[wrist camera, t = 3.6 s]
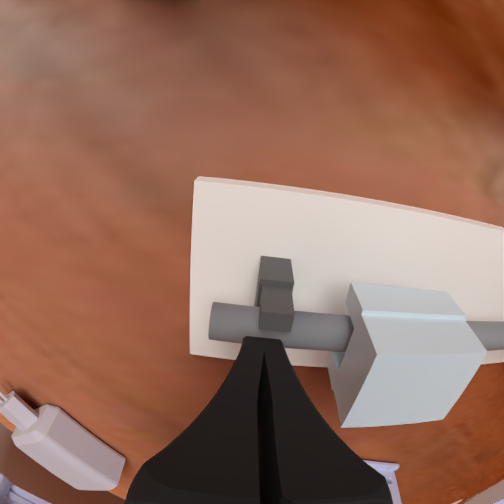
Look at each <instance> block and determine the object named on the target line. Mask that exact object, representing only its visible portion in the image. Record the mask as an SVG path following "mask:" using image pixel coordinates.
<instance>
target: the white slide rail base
mask: <svg viewBox="0 0 504 504" xmlns="http://www.w3.org/2000/svg"><path fill="white" fill-rule="evenodd" d="M351 282H354V283H364V284H374V285H384V286H395V287H405V288H416V289H427V290H438V291H447V292H448V293H449V294H450V296H451V297H452V298H453V299H454V301H455V302H456V303H457V304H458V306H459V307H460V308H461V309H462V311H463V312H464V313H465V315H466V317H465V319H464V320H465V321H466V322H467V324H468V325H469V326H470V328H471V329H472V330H473V332H474V333H475V335H476V336H477V337H478V339H479V340H480V342H481V343H482V344H483V346H484V347H485V349H486V350H487V352H488V353H487V355H486V356H485V358H484V360H483V361H482V363H481V364H490V363H499V362H504V228H503V227H500V226H496V225H492V224H488V223H484V222H480V221H475V220H471V219H467V218H463V217H458V216H454V215H450V214H445V213H440V212H436V211H431V210H426V209H422V208H417V207H412V206H407V205H401V204H396V203H391V202H386V201H380V200H375V199H369V198H363V197H357V196H351V195H345V194H339V193H333V192H326V191H320V190H313V189H306V188H299V187H291V186H284V185H276V184H268V183H260V182H251V181H242V180H233V179H223V178H213V177H202V176H199V177H198V178H197V179H196V180H195V181H194V196H193V215H192V238H191V269H190V354H194V355H201V356H208V357H216V358H223V359H232V360H236V358H237V356H238V354H239V351H240V348H241V345H242V341H243V338H244V337H246V336H252V337H262V338H272V339H280V340H281V341H282V342H283V345H284V348H285V351H286V353H287V356H288V358H289V361H290V363H291V365H295V366H311V367H327V362H326V360H327V357H328V354H329V351H339V352H346V349H347V347H348V344H349V341H350V339H351V336H352V333H353V330H354V326H353V324H352V321H351V318H350V315H349V312H348V309H347V307H346V304H345V301H346V297H347V294H348V290H349V287H350V283H351Z"/></svg>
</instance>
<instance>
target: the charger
mask: <svg viewBox="0 0 504 504" xmlns="http://www.w3.org/2000/svg"><path fill="white" fill-rule="evenodd" d="M0 396H1V397H2V398H3V399H1V398H0V413H1V414H3V415H4V416H5V417H6V418H7V419H8V420H9V421H10V422H11V423H12V424H14V425H15V426H16V429H15V430H14V432H13V434H12V439H13V441H14V443H15V445H16V446H17V447H18V448H19V449H21V450H22V451H23V452H24V453H26V454H27V455H28V456H29V457H31V458H32V459H33V460H35V461H36V462H38V463H39V464H40V465H42V466H43V467H45V468H46V469H47V470H49V471H50V472H51V473H53V474H55V475H56V476H57V477H59V478H61V479H62V480H63V481H65V482H66V483H68V484H70V485H71V486H73V487H74V488H76V489H79V490H111V489H113V488H115V487H116V486H117V485H118V482H119V479H120V476H121V473H122V470H123V467H124V464H125V460H126V458H125V457H124V456H123V455H121V454H120V453H118V452H117V451H115V450H114V449H112V448H111V447H110V446H108V445H107V444H105V443H104V442H103V441H101V440H100V439H98V438H97V437H96V436H94V435H93V434H92V433H90V432H89V431H88V430H87V429H85V428H84V427H83V426H81V425H80V424H79V423H78V422H76V421H75V420H74V419H73V418H72V417H70V416H69V415H68V414H67V413H66V412H64V411H63V410H62V409H61V408H60V407H57V406H53V405H49V404H46V405H44V406H41V407H39V408H37V409H34V410H33V409H32V408H31V407H30V406H29V405H28V404H27V403H26V402H25V401H24V400H23V399H21V398H20V397H19V396H18V395H17V394H16V393H15V392H14V391H12V392H10V393H9V394H7V395H6V396H5V395H4V394H3V393H2V392H1V391H0Z"/></svg>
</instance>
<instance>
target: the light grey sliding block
mask: <svg viewBox="0 0 504 504" xmlns="http://www.w3.org/2000/svg"><path fill="white" fill-rule="evenodd" d="M345 304H346V307H347V309H348V312H349V315H350V318H351V321H352V324H353V326H354V330H353V333H352V336H351V339H350V341H349V344H348V347H347V349H346V352H339V351H329V354H328V357H327V360H326V362H327V367H328V372H329V377H330V382H331V387H332V391H334V394H335V399H336V404H337V409H338V415H339V420H340V426H341V428H347V427H372V426H388V425H400V424H410V423H419V422H427V421H435V420H442V419H444V417H445V416H446V415H447V413H448V412H449V411H450V409H451V408H452V407H453V405H454V404H455V402H456V401H457V400H458V398H459V397H460V395H461V394H462V392H463V391H464V390H465V388H466V387H467V385H468V384H469V382H470V381H471V379H472V377H473V376H474V374H475V373H476V371H477V370H478V368H479V366H480V365H481V363H482V361H483V360H484V358H485V356H486V355H487V353H488V352H487V350H486V349H485V347H484V346H483V344H482V343H481V342H480V340H479V339H478V337H477V336H476V335H475V333H474V332H473V330H472V329H471V328H470V326H469V325H468V324H467V322H466V321H465V320H464V319H465V317H466V315H465V313H464V312H463V311H462V309H461V308H460V307H459V306H458V304H457V303H456V302H455V301H454V299H453V298H452V297H451V296H450V294H449V293H448V292H447V291H438V290H427V289H416V288H405V287H395V286H384V285H374V284H364V283H354V282H351V283H350V287H349V290H348V294H347V297H346V301H345Z"/></svg>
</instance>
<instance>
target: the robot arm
mask: <svg viewBox="0 0 504 504" xmlns="http://www.w3.org/2000/svg"><path fill="white" fill-rule="evenodd" d="M398 468H399V464H395V463H385V462H376V461H368V460H362V459H361V458H360V457H359V456H358V455H357V454H355V453H354V452H353V451H352V450H351V449H350V448H349V447H348V446H347V445H346V444H345V443H344V442H343V441H342V440H341V439H340V437H339V436H338V435H337V434H336V433H335V432H334V431H333V430H332V429H331V427H330V426H329V425H328V424H327V423H326V421H325V420H324V419H323V417H322V416H321V415H320V413H319V412H318V411H317V409H316V408H315V406H314V405H313V403H312V402H311V400H310V398H309V397H308V395H307V394H306V392H305V390H304V388H303V387H302V385H301V383H300V381H299V379H298V377H297V375H296V373H295V371H294V369H293V367H292V365H291V363H290V361H289V358H288V356H287V353H286V351H285V348H284V345H283V342H282V341H281V340H280V339H272V338H262V337H252V336H246V337H244V338H243V341H242V345H241V348H240V351H239V354H238V356H237V358H236V361H235V363H234V364H233V366H232V368H231V370H230V372H229V374H228V376H227V377H226V379H225V381H224V382H223V384H222V385H221V387H220V388H219V390H218V391H217V393H216V394H215V396H214V397H213V398H212V400H211V401H210V402H209V404H208V405H207V406H206V407H205V409H204V410H203V411H202V412H201V413H200V415H199V416H198V417H197V418H196V419H195V420H194V421H193V422H192V423H191V424H190V425H189V426H188V427H187V428H186V429H185V430H184V431H183V432H182V433H181V434H180V435H179V436H178V437H177V438H176V439H174V440H173V441H172V442H171V443H170V444H169V445H168V446H166V447H165V448H164V449H163V450H161V451H160V452H159V453H157V454H156V455H155V456H153V457H152V458H150V459H149V460H148V461H146V462H145V463H144V464H143V465H142V467H141V468H140V470H139V471H138V473H137V474H136V476H135V477H134V479H133V481H132V483H131V485H130V488H129V490H128V494H127V497H126V501H125V504H402V503H401V498H400V494H399V490H398V485H397V481H396V477H395V473H394V471H395V470H397V469H398ZM0 504H51V503H49V502H47V501H45V500H43V499H41V498H38V497H36V496H34V495H32V494H30V493H29V492H26V491H25V490H23V489H21V488H19V487H17V486H15V485H14V484H12V483H11V481H10V480H9V479H8V478H7V477H6V476H4V475H3V474H2V473H0ZM491 504H504V498H502V499H500V500H498V501H495V502H493V503H491Z"/></svg>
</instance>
